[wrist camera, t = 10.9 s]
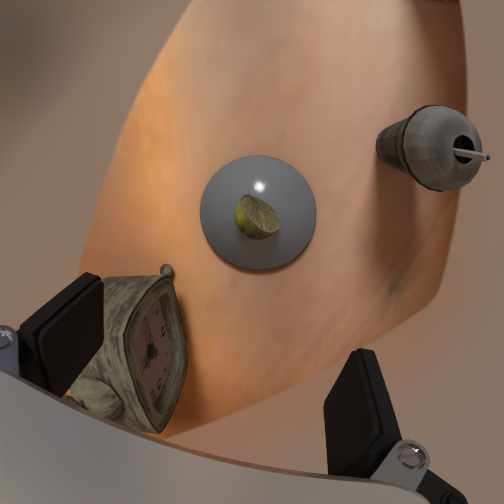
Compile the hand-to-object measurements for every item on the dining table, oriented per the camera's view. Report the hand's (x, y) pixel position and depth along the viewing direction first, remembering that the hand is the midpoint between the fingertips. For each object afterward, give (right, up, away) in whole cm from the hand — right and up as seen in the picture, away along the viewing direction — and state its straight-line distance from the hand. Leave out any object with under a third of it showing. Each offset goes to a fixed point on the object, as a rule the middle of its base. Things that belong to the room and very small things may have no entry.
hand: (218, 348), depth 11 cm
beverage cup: (+17, +15, +22) cm, 32 cm away
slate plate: (+2, +8, +25) cm, 27 cm away
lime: (+2, +8, +25) cm, 26 cm away
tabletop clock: (-12, -4, +31) cm, 33 cm away
